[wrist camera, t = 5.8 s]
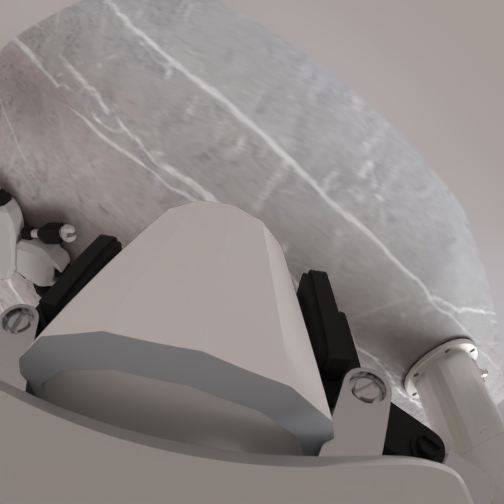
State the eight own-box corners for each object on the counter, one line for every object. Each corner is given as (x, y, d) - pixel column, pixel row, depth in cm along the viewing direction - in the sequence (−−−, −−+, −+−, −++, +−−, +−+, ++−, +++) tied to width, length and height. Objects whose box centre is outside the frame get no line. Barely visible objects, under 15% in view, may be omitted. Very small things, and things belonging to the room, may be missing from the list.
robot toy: (91, 212, 27) (-12, 164, 23) (72, 234, 24) (-38, 179, 19) (73, 297, 33) (-16, 250, 29) (60, 322, 29) (-34, 269, 25)
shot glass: (115, 311, 12) (47, 447, 6) (139, 156, 9) (-19, 267, 3) (263, 357, 13) (261, 508, 7) (336, 223, 10) (416, 399, 4)
